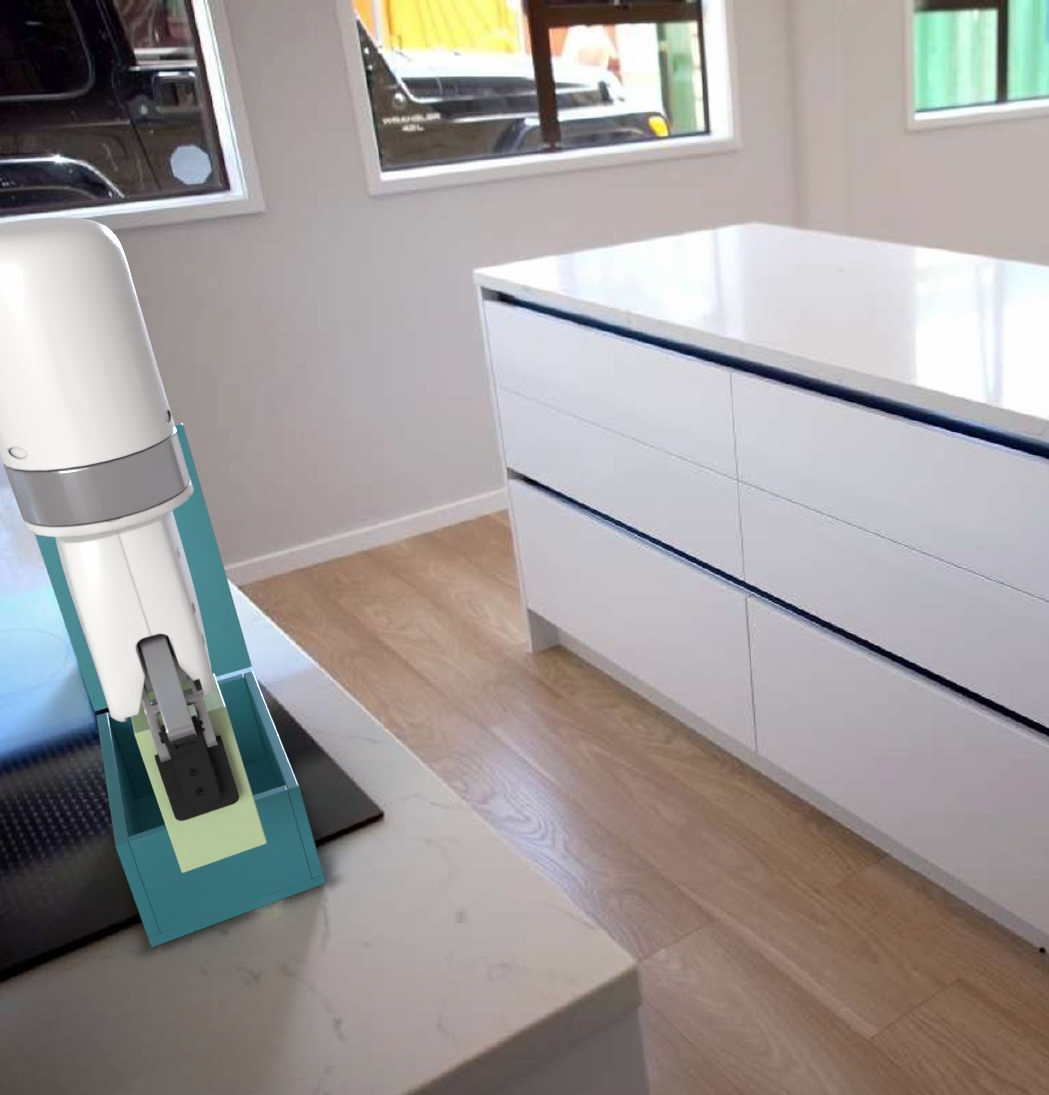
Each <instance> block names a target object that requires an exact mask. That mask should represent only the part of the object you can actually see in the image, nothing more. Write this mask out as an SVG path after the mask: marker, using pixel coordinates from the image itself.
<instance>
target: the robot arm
mask: <svg viewBox="0 0 1049 1095" xmlns="http://www.w3.org/2000/svg"><path fill="white" fill-rule="evenodd" d="M144 319H145V318H144V316H143V313H142V308H141V305H140V302H139V298H138V295H137V292H136V288H135V284H134V282H133V277H132V273H131V271H130V267H129V264H128V261H127V258H126V255H125V252H124V250H123V247H122V245H121V243H120V241H119V239H118V238H117V236H116V235H115V234H114V233H113V231H112V230H110V229H109V228H108V227H107V226H106V225H104V224H102V223H100V222H98V221H95V220H92V219H88V218H81V217H44V218H31V219H24V220H23V219H22V220H15V221H8V222H3V223H0V460H1V462H2V463H3V467H4V470H5V473H6V476H7V479H8V481H9V484H10V487H11V490H12V492H13V496H14V498H15V501H16V504H17V507H18V510H19V512H20V515H21V518H22V520H23V523H24V526H25V528H26V530H27V531H28V532H29V533H32V534H34V535H35V534H36V535H41V536H47V537H55V539H56V544H57V548H58V552H59V555H60V559H61V563H62V567H63V570H64V573H65V577H66V580H67V584H68V587H69V590H70V593H71V596H72V599H73V602H74V605H75V608H76V611H77V614H78V617H79V620H80V623H81V626H82V629H83V632H84V635H85V638H86V641H87V644H88V647H89V650H90V653H91V656H92V659H93V662H94V665H95V668H96V671H97V674H98V677H99V680H100V683H101V686H102V689H103V692H104V695H105V699H106V702H107V705H108V708H107V709H108V712H110V715H111V717H112V718H113V719H115V720H117V721H120V722H125V721H127V718H128V717H131V716H135V715H138V714H139V710H140V704H141V702H142V706H143V712H144V714H145V715H146V718H147V721H148V724H149V727H150V730H151V733H152V736H153V740H154V743H155V746H156V749H157V752H158V755H154V756H155V760H156V763H157V766H158V769H159V772H160V775H161V778H162V781H163V784H164V787H165V790H166V793H167V796H168V799H169V802H170V805H171V808H172V811H173V814H174V817H175V818H176V819H177V820H179V821H184V820H188V819H191V818H194V817H197V816H199V815H202V814H205V813H208V812H211V811H214V810H217V809H220V808H223V807H226V806H229V805H232V804H235V803H236V802H237V801H238V800H239V794H238V790H237V787H236V784H235V781H234V777H233V774H232V771H231V768H230V765H229V761H228V758H227V755H226V752H225V748H224V745H223V742H222V739H221V736H220V735H219V736H215V734H214V731H213V728H212V724H211V721H210V718H209V715H208V712H207V708H206V705H205V702H204V699H203V698H204V695H205V697H207V696H208V695H209V694H210V693H211V691H212V690H213V688H214V682H213V676H212V670H211V664H210V659H209V654H208V648H207V643H206V638H205V632H204V628H203V623H202V619H201V614H200V609H199V605H198V601H197V597H196V593H195V589H194V585H193V582H192V578H191V574H190V571H189V567H188V563H187V560H186V556H185V552H184V549H183V545H182V542H181V539H180V535H179V532H178V528H177V525H176V521H175V518H174V515H173V511H172V510H174V509H176V508H177V507H179V506H181V505H182V504H183V503H185V502H186V501H187V500H188V499H189V497H190V496H192V494H193V486H192V482H191V479H190V477H189V473H188V470H187V466H186V463H185V459H184V456H183V453H182V449H181V446H180V442H179V439H178V435H177V432H176V429H175V424H176V423H175V421H174V418H173V415H172V412H171V407H170V405H169V401H168V398H167V394H166V391H165V387H164V384H163V381H162V377H161V374H160V371H159V367H158V364H157V360H156V358H155V354H154V349H153V347H152V343H151V339H150V336H149V332H148V329H147V325H146V322H145V320H144ZM189 680H190V683H191V686H192V688H191V689H188V690H185V691H183V689H182V686H181V683H184V682H187V681H189ZM153 691H154V693H155V697H156V699H154V700H150V698H149V695H148V693H149V692H153ZM203 693H204V695H203ZM193 704H194V707H195V710H196V713H197V716H198V717H196V715H194V716H191V715H190V712H189V709H188V706H189V705H193ZM159 714H161V716H162V719H163V723H164V725H161V722H160V719H159V716H158V715H159Z"/></svg>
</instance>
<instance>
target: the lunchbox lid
mask: <svg viewBox="0 0 1049 1095" xmlns="http://www.w3.org/2000/svg"><path fill="white" fill-rule="evenodd" d="M174 424H175V429H176V432H177V435H178V439H179V442H180V446H181V449H182V453H183V456H184V459H185V463H186V466H187V470H188V473H189V477H190V479H191V482H192V486H193V494H192V496H190V497H189V499H188V500H187V501H186V502H185V503H183V504H182V505H181V506H179V507H177V508H176V509H174V510H172V511H173V515H174V518H175V521H176V525H177V528H178V532H179V535H180V539H181V542H182V545H183V549H184V552H185V556H186V560H187V563H188V567H189V571H190V574H191V578H192V582H193V585H194V589H195V593H196V597H197V601H198V605H199V609H200V614H201V619H202V623H203V628H204V632H205V638H206V643H207V648H208V654H209V659H210V664H211V670H212V674H215V676H216V678H218V677H221V676H225V675H228V674H231V673H235V672H238V671H241V670H245V669H249V668H252V667H253V665H252V661H251V658H250V654H249V651H248V647H247V644H246V640H245V637H244V633H243V630H242V626H241V623H240V619H239V616H238V612H237V609H236V605H235V602H234V597H233V594H232V591H231V588H230V584H229V581H228V578H227V574H226V570H225V566H224V563H223V560H222V555H221V553H220V549H219V546H218V545H219V544H218V543H217V542H218V541H217V538H216V535H215V532H214V531H215V530H214V528H213V524H212V520H211V517H210V514H209V511H208V507H207V503H206V499H205V497H204V493H203V489H202V486H201V483H200V478H199V475H198V472H197V468H196V464H195V462H194V461H195V460H194V457H193V454H192V451H191V448H190V444H189V440H188V437H187V433H186V430H185V427H184V424H183V422H178V423H174ZM34 536H35V540H36V542H37V546H38V549H39V552H40V554H41V557H42V560H43V563H44V566H45V569H46V572H47V575H48V577H49V578H48V579H49V581H50V584H51V586H52V590H53V593H54V596H55V599H56V602H57V604H58V607H59V610H60V613H61V616H62V619H63V622H64V625H65V629H66V631H67V634H68V637H69V639H70V644H71V645H72V650H73V652H74V656H75V658H76V661H77V664H78V667H79V670H80V672H81V676H82V679H83V682H84V685H85V688H86V690H87V693H88V696H89V699H90V701H91V705H92V708H93V711H94V712H98V711H101V710H105V709H109V708H108V705H107V702H106V699H105V695H104V692H103V689H102V686H101V683H100V680H99V677H98V674H97V671H96V668H95V665H94V662H93V659H92V656H91V653H90V650H89V647H88V644H87V641H86V638H85V635H84V632H83V629H82V626H81V623H80V620H79V617H78V614H77V611H76V608H75V605H74V602H73V599H72V596H71V593H70V590H69V587H68V584H67V580H66V577H65V573H64V570H63V567H62V563H61V559H60V555H59V552H58V548H57V544H56V539H55V537H47V536H41V535H36V534H34Z"/></svg>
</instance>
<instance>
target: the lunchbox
mask: <svg viewBox="0 0 1049 1095" xmlns="http://www.w3.org/2000/svg"><path fill="white" fill-rule="evenodd" d="M217 682H218V685H219V688H220V691H221V694H222V697H223V700H224V703H225V706H226V709H227V712H228V715H229V719H230V722H231V725H232V729H233V732H234V735H235V738H236V742H237V745H238V748H239V752H240V755H241V758H242V762H243V765H244V768H245V771H246V775H247V778H248V781H249V785H250V788H251V791H252V795H253V798H254V801H255V804H256V808H257V811H258V814H259V818H260V821H261V824H262V828H263V831H264V834H265V837H266V841H267V843H266V844H264V845H261V846H258V847H255V848H252V849H249V850H247V851H244V852H241V853H238V854H235V855H232V856H230V857H227V858H224V859H221V860H218V861H216V862H213V863H210V864H207V865H204V866H201V867H199V868H196V869H193V870H190V871H187V872H184V873H182V872H181V869H180V866H179V863H178V860H177V857H176V854H175V851H174V848H173V845H172V842H171V840H170V837H169V834H168V831H167V828H166V825H165V822H164V819H163V816H162V813H161V810H160V807H159V805H158V802H157V799H156V796H155V793H154V790H153V787H152V784H151V781H150V778H149V775H148V772H147V770H146V767H145V764H144V761H143V758H142V755H141V752H140V749H139V746H138V743H137V740H136V737H135V734H134V729H133V724H132V719H131V717H128V718H127V721H125V722H120V721H117V720H115V719H113V718H112V717H111V715H110V711H108V712H104V713H101V714H97V715H96V721H97V727H98V735H99V741H100V748H101V749H100V750H101V756H102V763H103V769H104V775H105V784H106V789H107V795H108V796H107V797H108V803H109V810H110V818H111V824H112V831H113V838H114V845H115V850H116V852H117V854H118V858H119V860H120V863H121V866H122V868H123V872H124V873H125V877H126V880H127V883H128V886H129V888H130V892H131V894H132V897H133V900H134V902H135V905H136V907H137V911H138V913H139V916H140V920H141V922H142V925H143V928H144V930H145V933H146V936H147V938H148V941H149V945H150V946H151V948H155V947H157V946H160V945H163V944H165V943H168V942H171V941H173V940H176V939H178V938H182V937H184V936H187V935H190V934H192V933H196V932H198V931H201V930H203V929H206V928H208V927H211V926H214V925H217V924H219V923H222V922H225V921H227V920H230V919H233V918H236V917H238V916H241V915H244V914H246V913H249V912H252V911H254V910H255V911H256V910H257V909H260V908H263V907H266V906H268V905H271V904H274V903H276V902H279V901H282V900H285V899H286V898H290V897H292V896H296V895H298V894H300V893H303V892H306V891H310V890H311V889H314V888H317V887H320V886H322V885H325V884H326V878H325V876H324V871H323V868H322V865H321V860H320V857H319V853H318V850H317V845H316V843H315V839H314V835H313V832H312V828H311V824H310V820H309V817H308V813H307V810H306V805H305V802H304V799H303V798H304V797H303V795H302V791H301V788H300V785H299V783H298V782H299V781H298V780H297V777H296V775H295V772H294V770H293V768H292V765H291V763H290V760H289V758H288V755H287V753H286V752H287V751H286V750H285V747H284V745H283V742H282V740H281V738H280V735H279V732H278V730H277V728H276V725H275V722H274V720H273V718H272V714H271V713H270V710H269V707H268V705H267V703H266V700H265V697H264V694H263V693H262V690H261V687H260V685H259V683H258V680H257V677H256V675H255V672H254V671H253V670H251V671H248V672H244V673H240V674H236V675H232V676H230V677H226V678H223V679H219V680H217Z"/></svg>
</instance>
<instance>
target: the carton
mask: <svg viewBox="0 0 1049 1095" xmlns="http://www.w3.org/2000/svg"><path fill="white" fill-rule="evenodd" d="M212 676H213V682H214V688H213V690H212V691H211V693H210V694H209V695H208V696H207V697H205V695H204V693H203V695H204V698H203V699H204V702H205V705H206V708H207V712H208V715H209V718H210V721H211V724H212V728H213V731H214V734H215V736H219V735H220V736H221V739H222V742H223V745H224V748H225V752H226V755H227V758H228V761H229V765H230V768H231V771H232V774H233V777H234V781H235V784H236V787H237V790H238V794H239V800H238V801H237V802H236V803H235V804H232V805H229V806H226V807H223V808H220V809H217V810H214V811H211V812H208V813H205V814H202V815H199V816H197V817H194V818H191V819H188V820H184V821H179V820H177V819H176V818H175V817H174V814H173V811H172V808H171V805H170V802H169V799H168V796H167V793H166V790H165V787H164V784H163V781H162V778H161V775H160V772H159V769H158V766H157V763H156V760H155V756H154V755H158V752H157V749H156V746H155V743H154V740H153V736H152V733H151V730H150V727H149V724H148V721H147V718H146V715H145V714H144V712H143V706H142V702H141V704H140V710H139V714H138V715H135V716H131V719H132V724H133V729H134V734H135V737H136V740H137V743H138V746H139V749H140V752H141V755H142V758H143V761H144V764H145V767H146V770H147V772H148V775H149V778H150V781H151V784H152V787H153V790H154V793H155V796H156V799H157V802H158V805H159V807H160V810H161V813H162V816H163V819H164V822H165V825H166V828H167V831H168V834H169V837H170V840H171V842H172V845H173V848H174V851H175V854H176V857H177V860H178V863H179V866H180V869H181V872H182V873H184V872H187V871H190V870H193V869H196V868H199V867H201V866H204V865H207V864H210V863H213V862H216V861H218V860H221V859H224V858H227V857H230V856H232V855H235V854H238V853H241V852H244V851H247V850H249V849H252V848H255V847H258V846H261V845H264V844H266V843H267V841H266V837H265V834H264V831H263V828H262V824H261V821H260V818H259V814H258V811H257V808H256V804H255V801H254V798H253V795H252V791H251V788H250V785H249V781H248V778H247V775H246V771H245V768H244V765H243V762H242V758H241V755H240V752H239V748H238V745H237V742H236V738H235V735H234V732H233V729H232V725H231V722H230V719H229V715H228V712H227V709H226V706H225V703H224V700H223V697H222V694H221V691H220V688H219V685H218V682H217V681H218V679H217V677H216V676H215V674H212ZM181 686H182V689H183V691H185V690H188V689H191V688H192V686H191V683H190V680H189V681H187V682H184V683H181ZM148 695H149V698H150V700H154V699H156V697H155V693H154V691H153V692H149V693H148ZM188 709H189V712H190V715H191V716H194V715H196V717H198V716H197V713H196V710H195V707H194V704H193V705H189V706H188ZM158 716H159V719H160V722H161V725H164V723H163V719H162V716H161V714H159V715H158Z"/></svg>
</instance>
